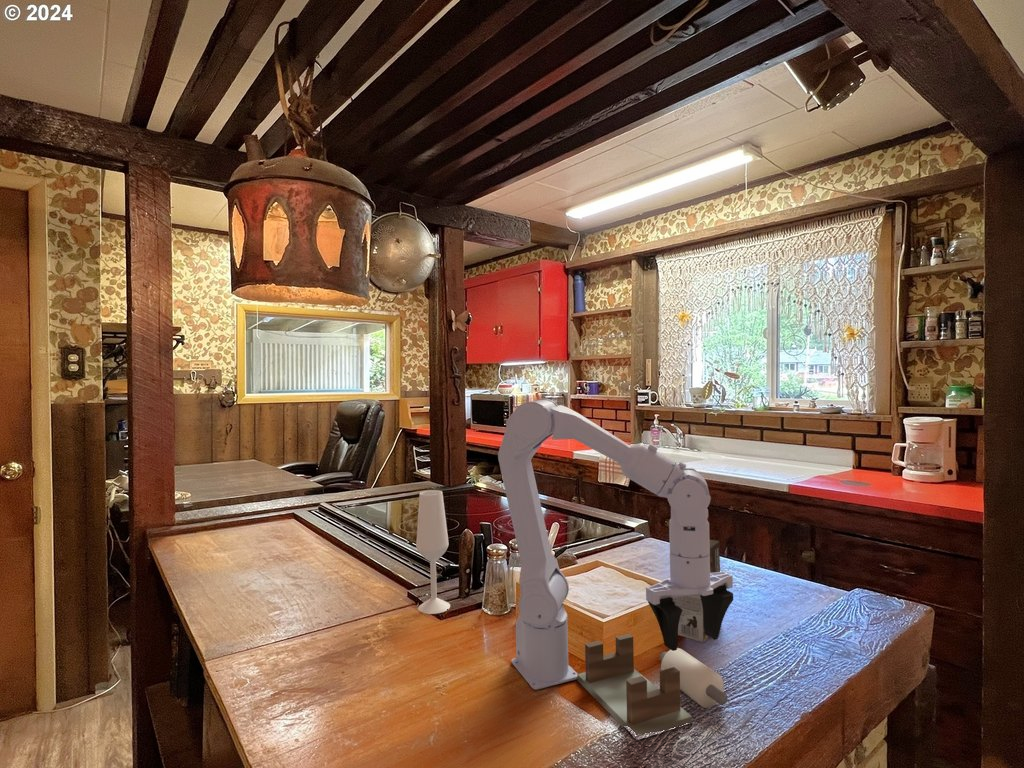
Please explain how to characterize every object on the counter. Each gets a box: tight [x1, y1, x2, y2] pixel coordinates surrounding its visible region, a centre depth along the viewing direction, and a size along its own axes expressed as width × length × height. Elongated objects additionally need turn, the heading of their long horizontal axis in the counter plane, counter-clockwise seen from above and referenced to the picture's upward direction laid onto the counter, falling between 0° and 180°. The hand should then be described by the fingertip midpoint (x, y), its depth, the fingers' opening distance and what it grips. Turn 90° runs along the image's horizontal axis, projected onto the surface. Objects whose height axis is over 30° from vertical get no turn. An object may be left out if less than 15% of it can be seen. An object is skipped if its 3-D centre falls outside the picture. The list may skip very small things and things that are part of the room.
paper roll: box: [659, 647, 728, 709], centre depth 84 cm, size 13×5×5 cm, turn 22°
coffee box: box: [673, 539, 721, 643], centre depth 105 cm, size 9×6×16 cm
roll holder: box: [576, 633, 693, 735], centre depth 83 cm, size 16×9×6 cm, turn 22°
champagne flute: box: [415, 489, 451, 615], centre depth 117 cm, size 7×7×24 cm
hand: (691, 642), depth 84 cm, fingers open, 7 cm apart
